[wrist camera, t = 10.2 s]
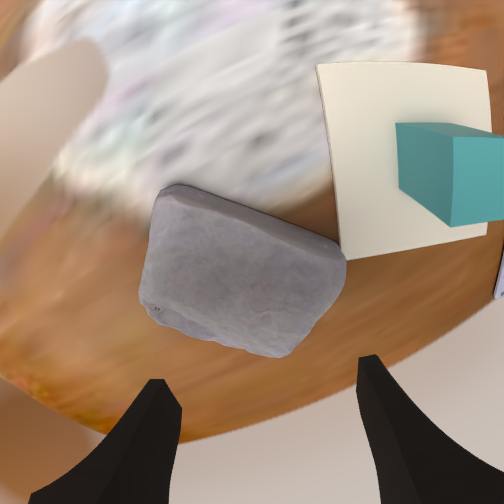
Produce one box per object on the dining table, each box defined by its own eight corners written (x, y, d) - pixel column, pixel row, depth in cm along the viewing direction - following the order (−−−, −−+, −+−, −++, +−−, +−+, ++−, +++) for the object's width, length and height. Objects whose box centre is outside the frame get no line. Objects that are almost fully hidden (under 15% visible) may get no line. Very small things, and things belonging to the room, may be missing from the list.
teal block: (449, 122, 14) (513, 138, 9) (450, 183, 16) (507, 218, 11) (395, 122, 15) (452, 136, 9) (398, 188, 17) (450, 227, 11)
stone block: (288, 324, 25) (352, 232, 19) (285, 373, 21) (363, 285, 15) (150, 276, 23) (172, 164, 17) (127, 321, 20) (137, 202, 14)
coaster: (480, 70, 13) (485, 70, 12) (481, 231, 18) (486, 234, 18) (315, 65, 14) (317, 64, 14) (339, 256, 19) (341, 261, 19)
